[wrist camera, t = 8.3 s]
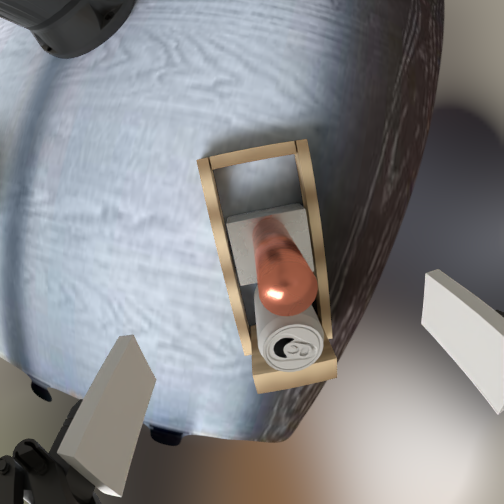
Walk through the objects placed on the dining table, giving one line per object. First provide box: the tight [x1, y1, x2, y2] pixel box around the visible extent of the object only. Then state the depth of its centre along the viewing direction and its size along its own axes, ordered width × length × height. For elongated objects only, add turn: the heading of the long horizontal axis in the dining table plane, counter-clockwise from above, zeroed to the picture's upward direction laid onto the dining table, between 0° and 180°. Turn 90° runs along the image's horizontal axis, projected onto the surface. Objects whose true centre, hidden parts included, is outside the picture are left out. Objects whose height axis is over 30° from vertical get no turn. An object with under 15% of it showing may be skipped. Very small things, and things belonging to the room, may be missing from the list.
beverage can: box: [254, 285, 324, 372], centre depth 30 cm, size 6×6×12 cm
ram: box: [226, 203, 318, 316], centre depth 25 cm, size 7×8×17 cm
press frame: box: [197, 139, 337, 394], centre depth 30 cm, size 25×12×10 cm, turn 11°
